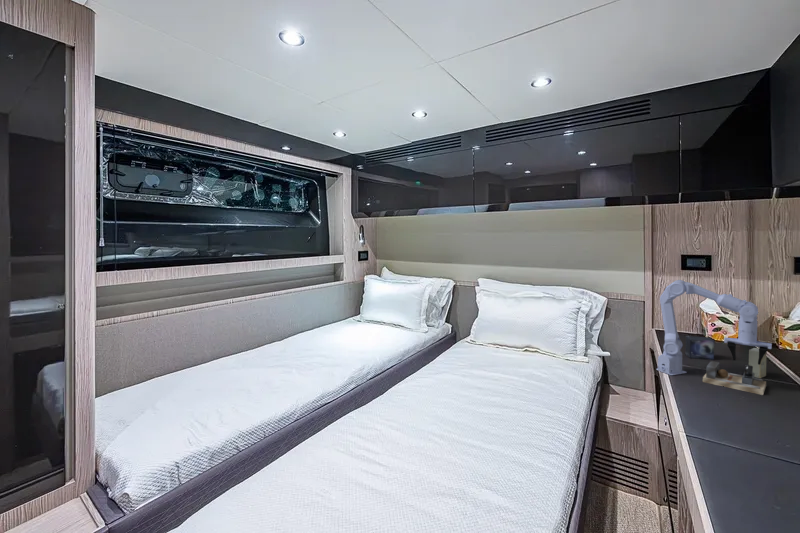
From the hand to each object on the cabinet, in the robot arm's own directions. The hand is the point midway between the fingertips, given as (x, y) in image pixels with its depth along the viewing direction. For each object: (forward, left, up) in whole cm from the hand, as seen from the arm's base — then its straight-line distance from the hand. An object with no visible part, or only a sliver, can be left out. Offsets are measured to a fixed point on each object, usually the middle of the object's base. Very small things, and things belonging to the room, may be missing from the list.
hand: (746, 361), depth 154 cm
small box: (+17, +32, -11) cm, 37 cm away
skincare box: (+16, +6, -11) cm, 20 cm away
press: (-3, +2, -10) cm, 11 cm away
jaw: (-1, -2, -8) cm, 8 cm away
